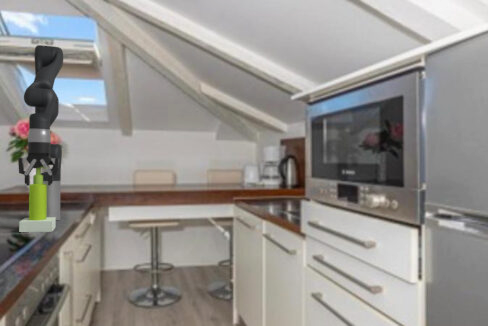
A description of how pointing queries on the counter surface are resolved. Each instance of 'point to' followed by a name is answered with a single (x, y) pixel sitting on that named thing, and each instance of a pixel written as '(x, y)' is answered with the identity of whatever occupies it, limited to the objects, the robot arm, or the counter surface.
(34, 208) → the soap dispenser
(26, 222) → the plate
